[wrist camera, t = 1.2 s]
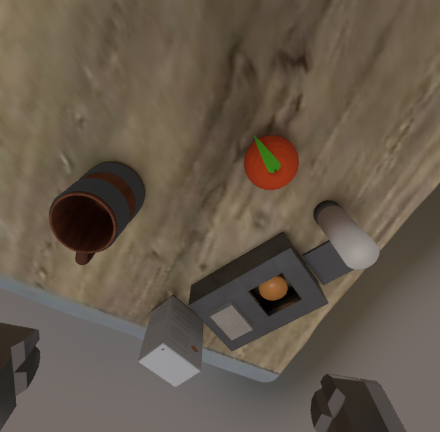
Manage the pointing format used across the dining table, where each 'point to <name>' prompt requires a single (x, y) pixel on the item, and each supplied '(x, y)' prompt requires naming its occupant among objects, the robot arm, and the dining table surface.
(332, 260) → the mat
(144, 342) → the small box
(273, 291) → the orange rounded piece
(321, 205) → the white cylinder
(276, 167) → the clementine
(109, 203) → the mug
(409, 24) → the dining table surface
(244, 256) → the panel
